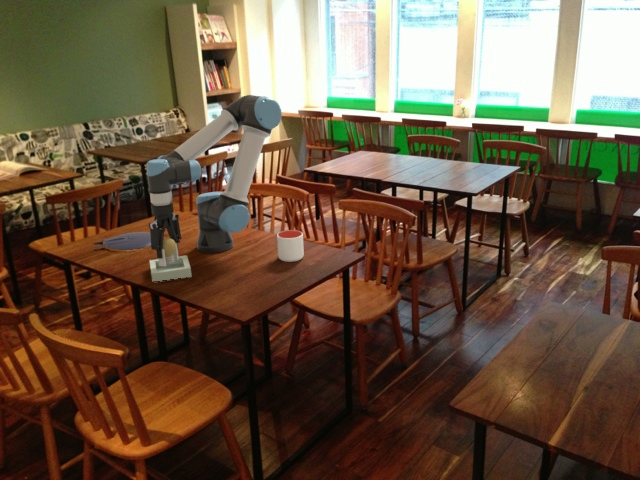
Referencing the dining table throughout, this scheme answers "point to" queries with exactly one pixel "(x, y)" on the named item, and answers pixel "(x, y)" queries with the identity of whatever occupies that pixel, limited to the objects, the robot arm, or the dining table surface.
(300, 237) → the cup
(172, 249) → the light bulb
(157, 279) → the tray
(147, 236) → the toy spaceship
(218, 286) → the dining table surface
